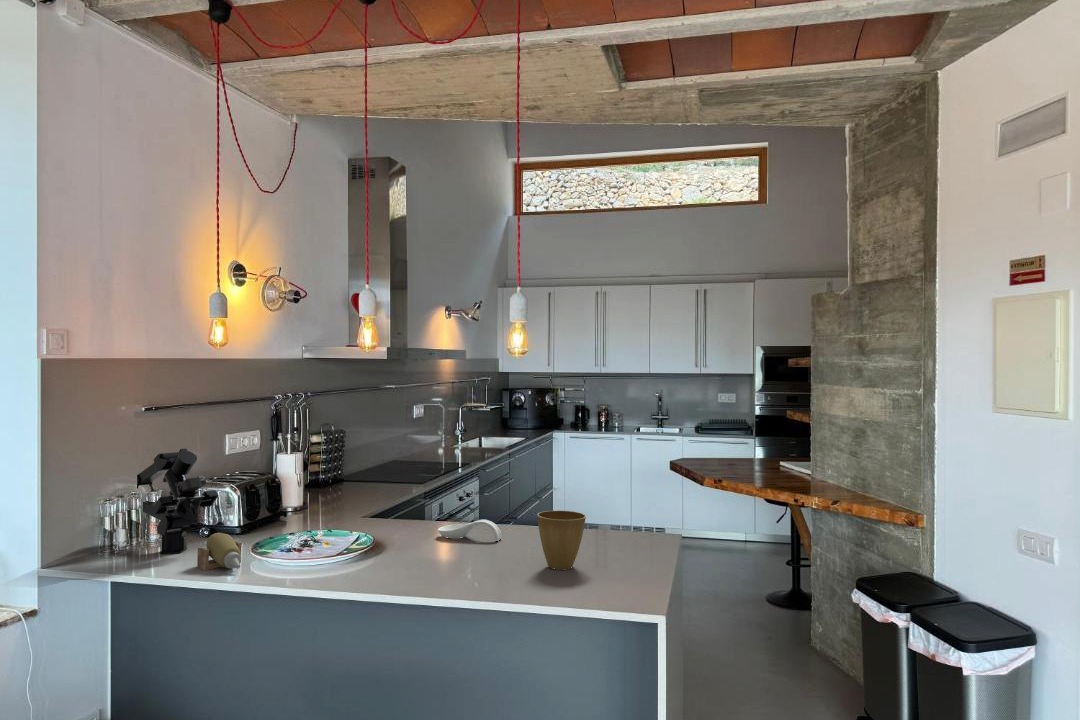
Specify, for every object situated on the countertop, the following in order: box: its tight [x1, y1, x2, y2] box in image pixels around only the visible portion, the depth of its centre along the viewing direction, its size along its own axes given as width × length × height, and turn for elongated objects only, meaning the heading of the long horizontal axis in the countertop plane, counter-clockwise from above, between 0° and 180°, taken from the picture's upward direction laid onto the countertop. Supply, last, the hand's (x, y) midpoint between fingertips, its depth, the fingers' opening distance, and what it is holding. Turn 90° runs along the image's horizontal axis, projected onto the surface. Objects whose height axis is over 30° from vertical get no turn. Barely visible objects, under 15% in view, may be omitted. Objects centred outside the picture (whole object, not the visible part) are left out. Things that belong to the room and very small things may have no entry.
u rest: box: [196, 540, 243, 571], centre depth 217 cm, size 4×12×6 cm, turn 144°
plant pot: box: [536, 510, 587, 570], centre depth 218 cm, size 15×15×16 cm
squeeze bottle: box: [205, 532, 242, 570], centre depth 214 cm, size 8×8×18 cm
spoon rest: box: [437, 519, 503, 541], centre depth 255 cm, size 24×12×7 cm, turn 73°
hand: (196, 522), depth 225 cm, fingers closed
